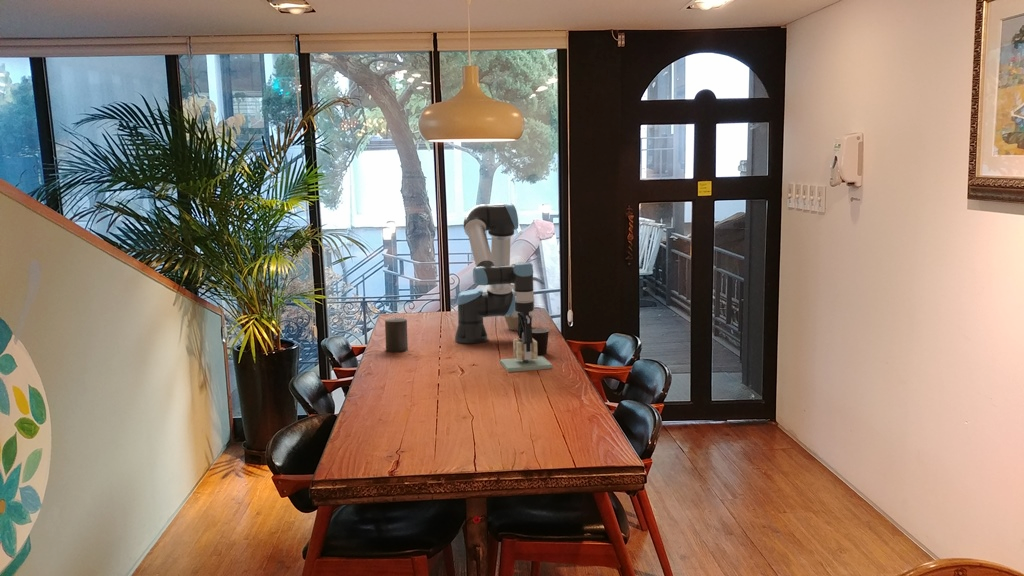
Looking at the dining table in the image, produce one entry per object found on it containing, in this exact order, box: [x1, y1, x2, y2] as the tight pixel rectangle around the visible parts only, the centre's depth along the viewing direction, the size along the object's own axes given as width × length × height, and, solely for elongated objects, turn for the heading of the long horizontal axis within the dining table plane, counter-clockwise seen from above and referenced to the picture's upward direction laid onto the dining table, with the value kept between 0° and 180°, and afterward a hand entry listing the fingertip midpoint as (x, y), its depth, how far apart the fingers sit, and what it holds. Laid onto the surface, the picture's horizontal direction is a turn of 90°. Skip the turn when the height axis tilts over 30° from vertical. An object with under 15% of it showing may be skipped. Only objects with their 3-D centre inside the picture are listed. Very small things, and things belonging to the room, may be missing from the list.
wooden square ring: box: [512, 338, 539, 360], centre depth 324 cm, size 8×8×7 cm
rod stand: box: [499, 332, 553, 373], centre depth 324 cm, size 15×18×14 cm
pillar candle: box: [384, 316, 409, 353], centre depth 358 cm, size 10×10×15 cm
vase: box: [503, 283, 535, 332], centre depth 395 cm, size 16×16×23 cm
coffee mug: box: [532, 328, 550, 356], centre depth 346 cm, size 12×9×10 cm
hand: (525, 356), depth 325 cm, fingers closed on wooden square ring, 8 cm apart
